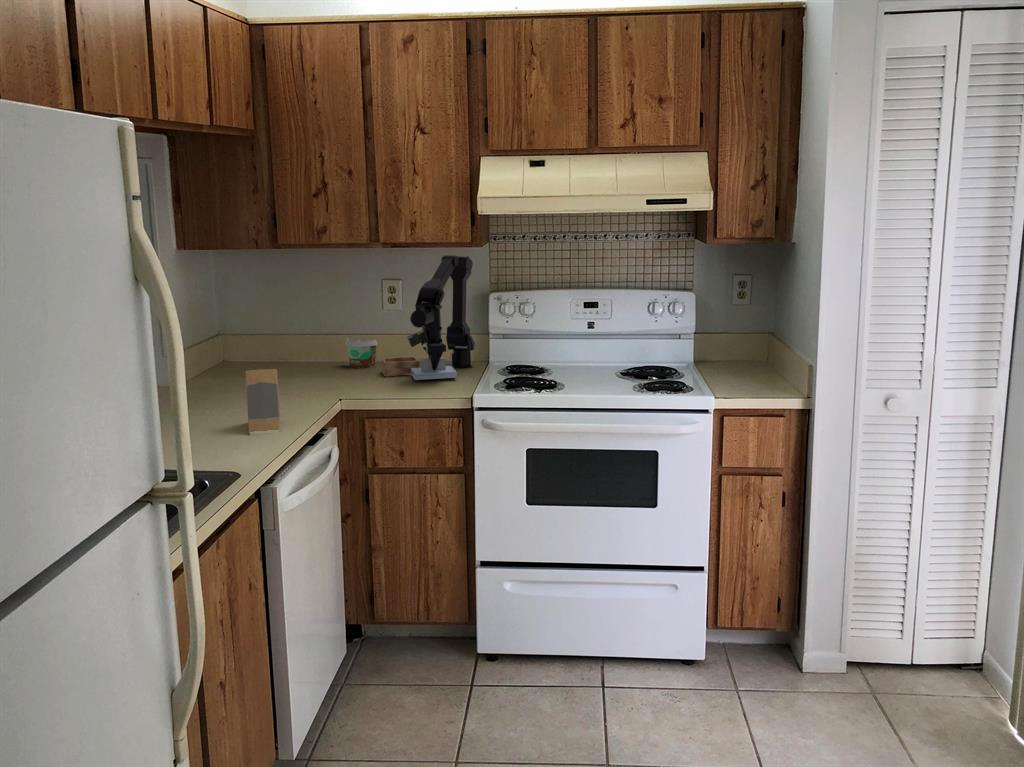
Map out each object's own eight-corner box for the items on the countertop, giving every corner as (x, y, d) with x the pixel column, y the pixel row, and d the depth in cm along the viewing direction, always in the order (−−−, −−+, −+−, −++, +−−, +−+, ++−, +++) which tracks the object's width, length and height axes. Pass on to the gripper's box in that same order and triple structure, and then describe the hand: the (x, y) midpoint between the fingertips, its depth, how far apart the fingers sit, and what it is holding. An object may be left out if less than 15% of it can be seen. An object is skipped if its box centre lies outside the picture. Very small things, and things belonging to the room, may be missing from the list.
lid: (451, 371, 322) (450, 354, 321) (456, 377, 312) (456, 359, 310) (411, 373, 319) (410, 356, 318) (415, 380, 309) (414, 362, 307)
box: (416, 370, 330) (415, 356, 329) (419, 374, 322) (418, 360, 321) (382, 372, 328) (381, 358, 327) (384, 377, 319) (384, 362, 318)
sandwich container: (247, 436, 245) (243, 381, 242) (248, 422, 260) (244, 370, 257) (281, 433, 247) (277, 378, 244) (280, 420, 262) (276, 368, 259)
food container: (340, 367, 337) (339, 340, 335) (348, 364, 343) (346, 338, 341) (371, 369, 334) (370, 341, 331) (378, 366, 339) (377, 339, 337)
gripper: (405, 320, 319) (406, 365, 322) (411, 328, 301) (413, 375, 304) (437, 319, 321) (438, 363, 325) (445, 326, 303) (447, 373, 307)
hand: (433, 368), depth 315 cm, fingers closed on lid, 2 cm apart
